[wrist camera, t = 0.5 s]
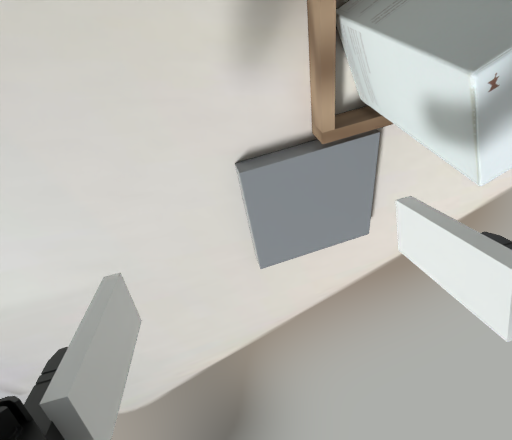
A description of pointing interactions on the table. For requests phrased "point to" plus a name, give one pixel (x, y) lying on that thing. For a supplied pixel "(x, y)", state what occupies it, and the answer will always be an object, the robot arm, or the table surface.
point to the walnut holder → (331, 80)
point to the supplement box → (438, 75)
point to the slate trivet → (309, 196)
